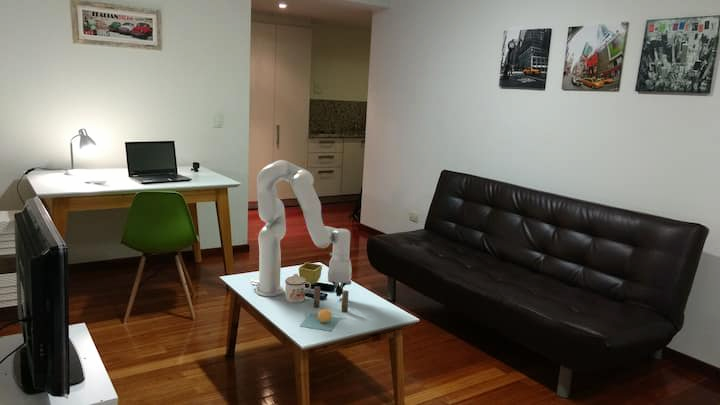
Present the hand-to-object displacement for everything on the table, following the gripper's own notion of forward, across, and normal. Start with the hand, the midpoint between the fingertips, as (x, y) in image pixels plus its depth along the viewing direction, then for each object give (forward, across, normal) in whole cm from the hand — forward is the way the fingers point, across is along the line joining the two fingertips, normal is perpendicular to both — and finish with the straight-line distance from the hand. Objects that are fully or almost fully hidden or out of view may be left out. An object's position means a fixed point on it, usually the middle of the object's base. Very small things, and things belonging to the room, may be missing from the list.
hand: (339, 295), depth 252 cm
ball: (-1, +2, -26) cm, 26 cm away
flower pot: (+2, -18, +12) cm, 22 cm away
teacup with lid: (+2, -17, -7) cm, 18 cm away
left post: (+2, -6, -13) cm, 15 cm away
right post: (+2, +6, -13) cm, 15 cm away
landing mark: (+2, 0, -27) cm, 27 cm away
